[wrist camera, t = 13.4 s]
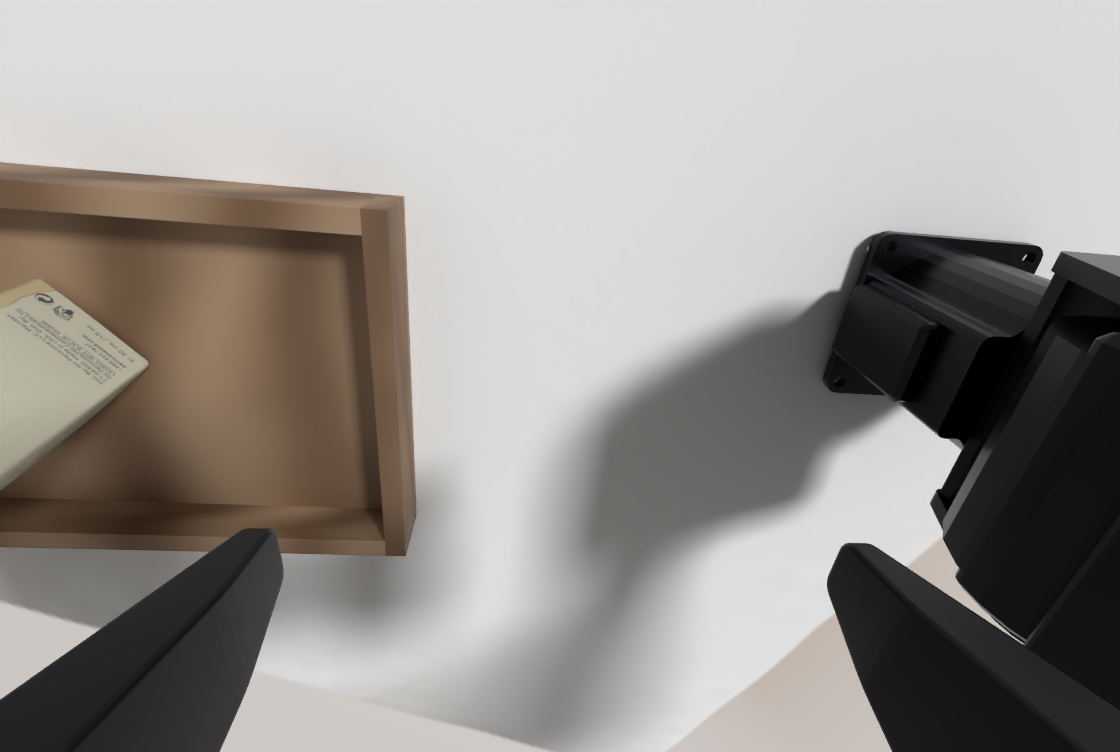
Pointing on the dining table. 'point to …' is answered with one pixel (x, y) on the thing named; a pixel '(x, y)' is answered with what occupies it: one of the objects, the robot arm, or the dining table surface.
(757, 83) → the dining table surface
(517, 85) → the dining table surface
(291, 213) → the walnut tray
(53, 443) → the skincare box
